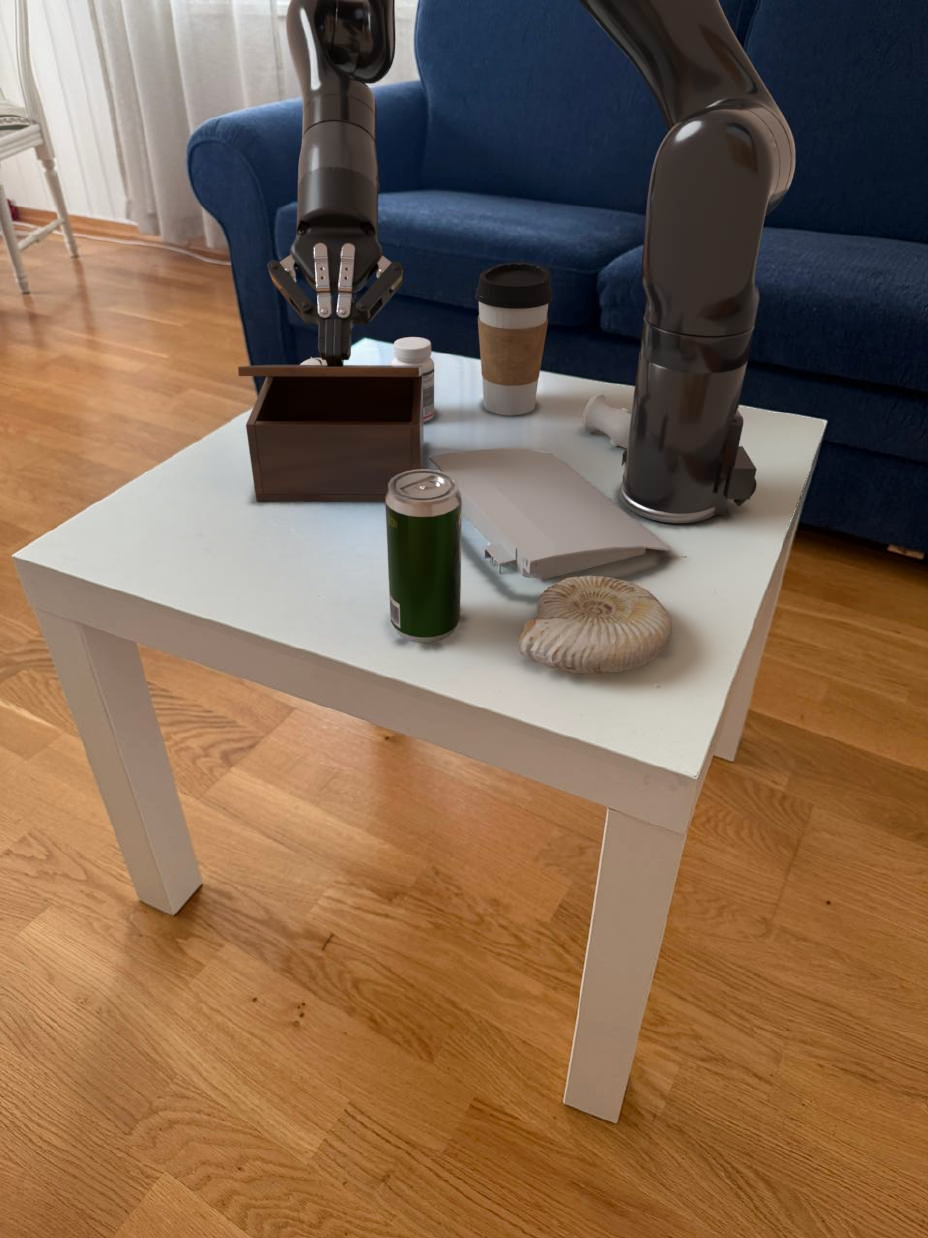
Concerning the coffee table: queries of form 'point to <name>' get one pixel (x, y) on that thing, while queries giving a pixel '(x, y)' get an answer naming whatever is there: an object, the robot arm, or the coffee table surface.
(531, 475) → the white stadium model
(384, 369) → the lid
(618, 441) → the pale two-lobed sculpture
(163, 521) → the coffee table surface
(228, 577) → the coffee table surface
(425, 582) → the beer can
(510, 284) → the coffee cup
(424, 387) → the pill bottle
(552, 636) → the fossil
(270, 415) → the chest
